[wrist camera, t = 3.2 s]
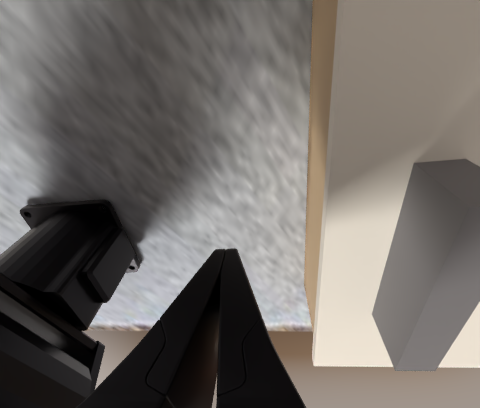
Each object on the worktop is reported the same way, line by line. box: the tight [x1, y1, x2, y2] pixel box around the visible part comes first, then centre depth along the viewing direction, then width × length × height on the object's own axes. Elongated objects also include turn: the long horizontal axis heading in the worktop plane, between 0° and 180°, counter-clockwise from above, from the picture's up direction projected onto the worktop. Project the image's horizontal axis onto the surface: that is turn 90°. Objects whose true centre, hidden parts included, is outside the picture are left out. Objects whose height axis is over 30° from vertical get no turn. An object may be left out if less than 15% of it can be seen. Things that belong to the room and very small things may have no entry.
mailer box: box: [304, 0, 338, 334], centre depth 12 cm, size 14×18×5 cm
